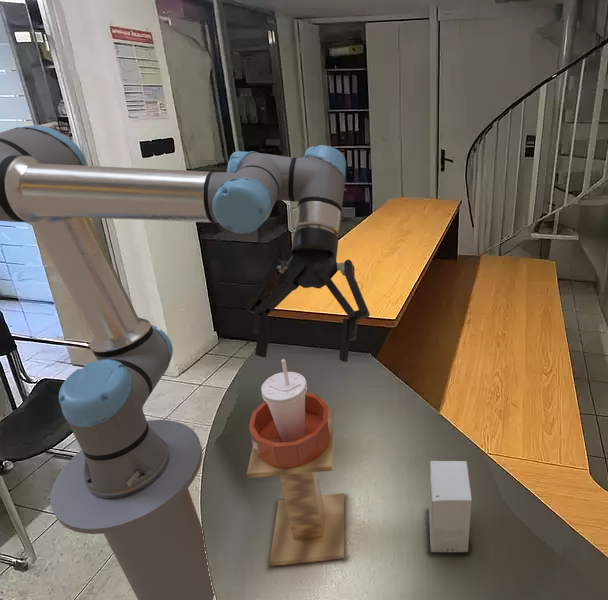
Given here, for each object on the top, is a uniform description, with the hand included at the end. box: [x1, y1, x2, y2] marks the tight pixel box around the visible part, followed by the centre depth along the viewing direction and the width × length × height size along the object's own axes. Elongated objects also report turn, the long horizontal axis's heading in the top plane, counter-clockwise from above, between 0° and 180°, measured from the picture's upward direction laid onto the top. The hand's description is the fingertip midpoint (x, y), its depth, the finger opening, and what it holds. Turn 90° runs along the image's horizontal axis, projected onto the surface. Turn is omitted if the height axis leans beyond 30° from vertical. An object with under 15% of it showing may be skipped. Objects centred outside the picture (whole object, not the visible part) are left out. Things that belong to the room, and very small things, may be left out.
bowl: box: [248, 391, 331, 468], centre depth 73 cm, size 11×11×4 cm
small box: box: [428, 460, 473, 553], centre depth 81 cm, size 8×6×13 cm
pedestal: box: [246, 408, 345, 567], centre depth 79 cm, size 12×12×22 cm
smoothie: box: [260, 358, 308, 442], centre depth 70 cm, size 6×6×14 cm
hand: (301, 358), depth 77 cm, fingers open, 13 cm apart
